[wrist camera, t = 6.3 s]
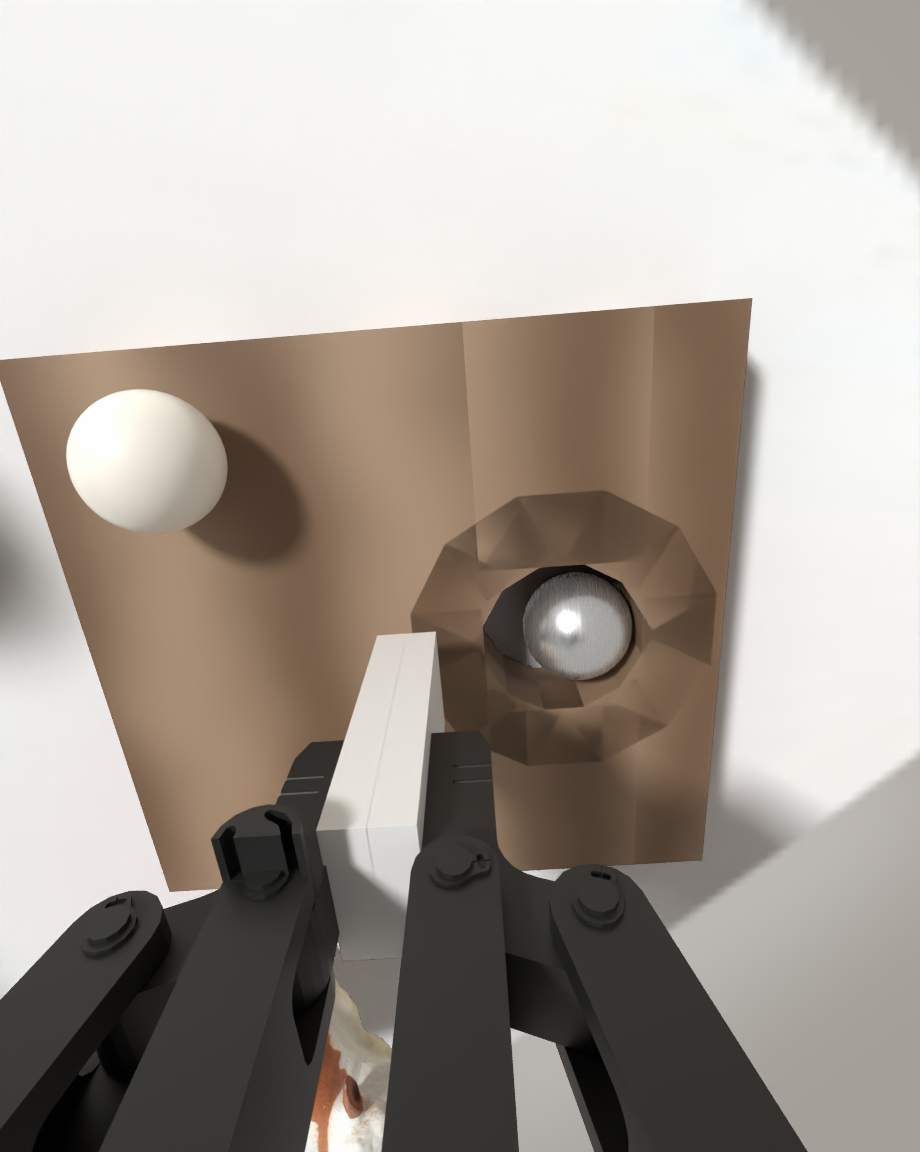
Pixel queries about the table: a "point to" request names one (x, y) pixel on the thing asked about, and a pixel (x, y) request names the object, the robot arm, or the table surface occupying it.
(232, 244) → the table surface
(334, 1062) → the bull figurine
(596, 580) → the steel ball
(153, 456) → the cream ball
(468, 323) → the board
